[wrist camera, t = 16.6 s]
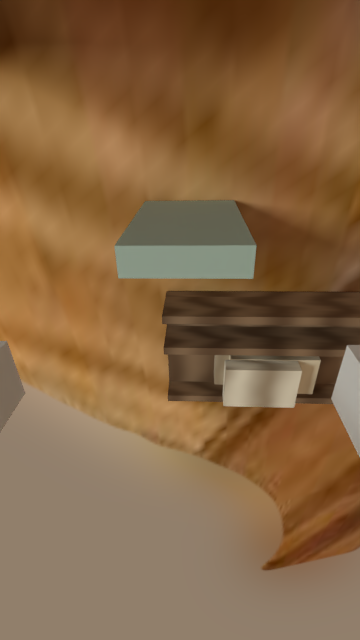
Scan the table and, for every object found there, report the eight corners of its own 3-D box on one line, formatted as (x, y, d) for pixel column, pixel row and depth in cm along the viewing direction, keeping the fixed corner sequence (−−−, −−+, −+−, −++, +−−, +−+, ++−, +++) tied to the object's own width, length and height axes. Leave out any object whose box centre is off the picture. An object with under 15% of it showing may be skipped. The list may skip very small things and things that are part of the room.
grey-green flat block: (146, 223, 38) (118, 278, 24) (145, 201, 37) (114, 245, 23) (232, 222, 38) (253, 278, 24) (234, 200, 36) (256, 245, 23)
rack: (170, 379, 50) (167, 411, 45) (166, 291, 43) (162, 316, 37) (343, 382, 49) (361, 415, 43) (371, 292, 41) (398, 318, 36)
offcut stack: (213, 375, 48) (215, 405, 42) (215, 340, 44) (217, 369, 39) (304, 377, 47) (317, 408, 42) (312, 341, 44) (328, 370, 39)
